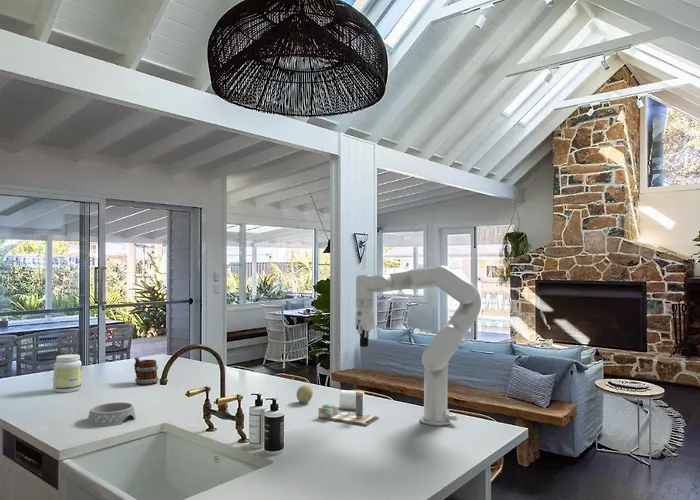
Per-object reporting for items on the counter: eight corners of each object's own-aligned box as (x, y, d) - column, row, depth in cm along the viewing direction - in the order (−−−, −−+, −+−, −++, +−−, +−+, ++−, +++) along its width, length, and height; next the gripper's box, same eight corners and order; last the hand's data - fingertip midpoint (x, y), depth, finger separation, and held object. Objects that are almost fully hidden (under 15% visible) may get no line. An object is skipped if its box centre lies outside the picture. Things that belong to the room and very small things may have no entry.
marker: (364, 417, 217) (364, 391, 217) (361, 419, 214) (361, 393, 215) (357, 416, 218) (357, 391, 219) (354, 418, 216) (354, 392, 216)
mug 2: (361, 412, 229) (361, 393, 229) (339, 410, 231) (339, 392, 231) (366, 405, 240) (366, 387, 241) (344, 403, 242) (345, 386, 243)
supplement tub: (86, 389, 262) (87, 355, 262) (61, 394, 252) (62, 359, 252) (72, 386, 268) (73, 353, 269) (47, 390, 258) (49, 356, 259)
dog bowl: (76, 424, 207) (77, 410, 207) (112, 412, 224) (112, 399, 224) (110, 429, 201) (111, 415, 201) (144, 416, 218) (145, 403, 218)
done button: (333, 412, 220) (333, 404, 220) (329, 414, 217) (329, 406, 218) (326, 411, 222) (326, 403, 222) (323, 413, 219) (323, 405, 219)
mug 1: (147, 386, 269) (144, 357, 270) (127, 388, 275) (125, 359, 277) (164, 382, 279) (161, 353, 281) (145, 383, 285) (143, 356, 287)
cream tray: (378, 418, 219) (378, 408, 219) (366, 426, 208) (366, 415, 208) (332, 411, 229) (332, 401, 229) (318, 418, 218) (318, 407, 218)
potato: (313, 401, 246) (314, 383, 246) (310, 405, 238) (311, 387, 238) (297, 400, 247) (298, 383, 247) (294, 404, 239) (294, 387, 239)
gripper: (365, 305, 217) (364, 349, 217) (379, 302, 231) (379, 344, 230) (349, 304, 221) (348, 348, 220) (364, 302, 234) (363, 343, 234)
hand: (364, 346), depth 225 cm, fingers closed
